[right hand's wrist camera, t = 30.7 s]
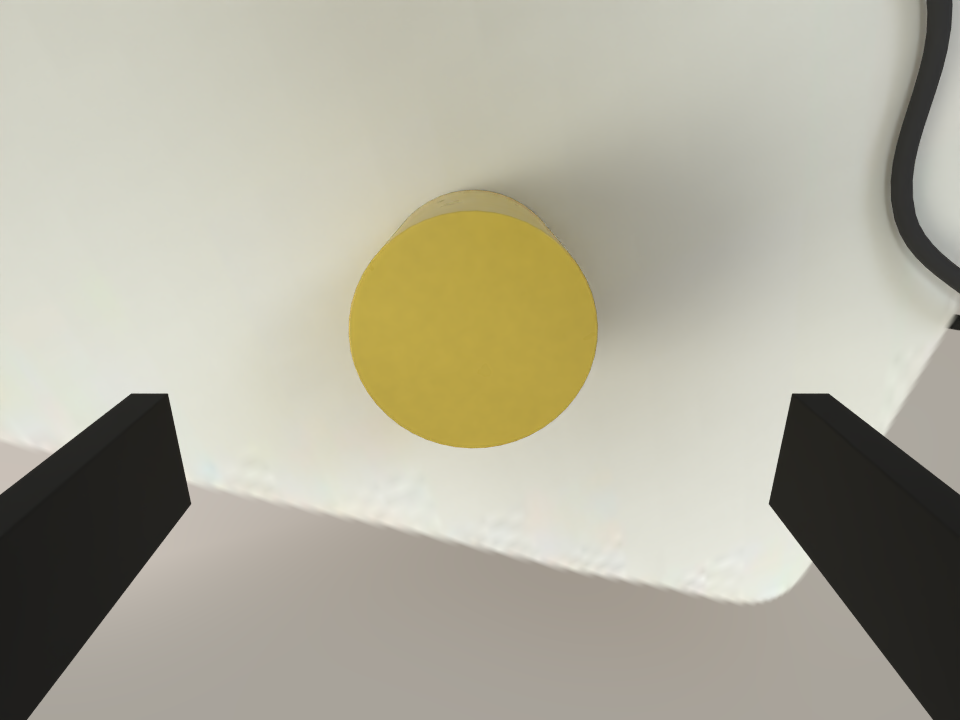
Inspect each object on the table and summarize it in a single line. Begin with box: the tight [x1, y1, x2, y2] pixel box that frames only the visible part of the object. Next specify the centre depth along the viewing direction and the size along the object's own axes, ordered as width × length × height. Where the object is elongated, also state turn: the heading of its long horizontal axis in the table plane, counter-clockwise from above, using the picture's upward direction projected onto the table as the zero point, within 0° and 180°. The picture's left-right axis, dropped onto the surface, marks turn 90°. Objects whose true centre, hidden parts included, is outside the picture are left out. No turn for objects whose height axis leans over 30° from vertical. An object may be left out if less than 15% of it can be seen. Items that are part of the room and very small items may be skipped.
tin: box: [349, 190, 598, 448], centre depth 26 cm, size 9×9×9 cm
